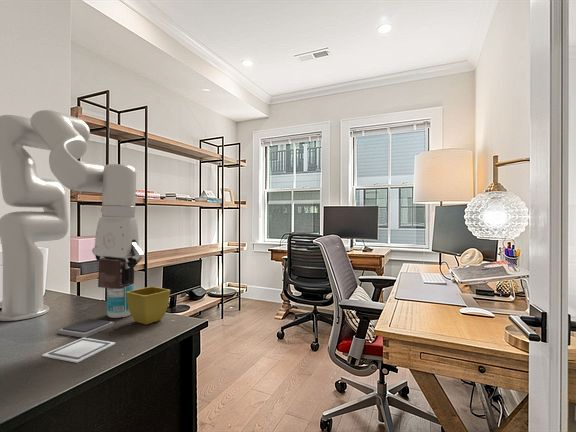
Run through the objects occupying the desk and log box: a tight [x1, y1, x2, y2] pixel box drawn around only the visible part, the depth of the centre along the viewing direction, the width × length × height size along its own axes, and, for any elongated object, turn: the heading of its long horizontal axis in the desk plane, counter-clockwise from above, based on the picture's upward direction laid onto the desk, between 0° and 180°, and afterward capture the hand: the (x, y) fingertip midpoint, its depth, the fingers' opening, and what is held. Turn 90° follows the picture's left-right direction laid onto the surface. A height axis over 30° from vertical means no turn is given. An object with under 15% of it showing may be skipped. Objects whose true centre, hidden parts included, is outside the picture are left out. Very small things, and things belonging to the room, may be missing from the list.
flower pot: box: [126, 285, 171, 325], centre depth 91 cm, size 9×9×9 cm
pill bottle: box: [106, 283, 135, 319], centre depth 96 cm, size 8×7×14 cm
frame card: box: [41, 337, 116, 363], centre depth 72 cm, size 10×10×1 cm
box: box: [97, 257, 135, 289], centre depth 81 cm, size 6×6×7 cm
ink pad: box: [57, 318, 115, 338], centre depth 84 cm, size 9×9×1 cm
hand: (116, 281), depth 81 cm, fingers closed on box, 6 cm apart
